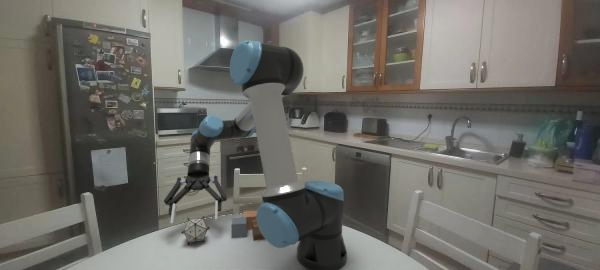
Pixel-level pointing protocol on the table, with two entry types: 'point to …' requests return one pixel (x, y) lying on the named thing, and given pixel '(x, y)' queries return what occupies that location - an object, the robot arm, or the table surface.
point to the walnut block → (256, 231)
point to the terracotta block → (249, 218)
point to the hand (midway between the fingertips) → (194, 222)
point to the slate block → (238, 227)
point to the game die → (195, 230)
